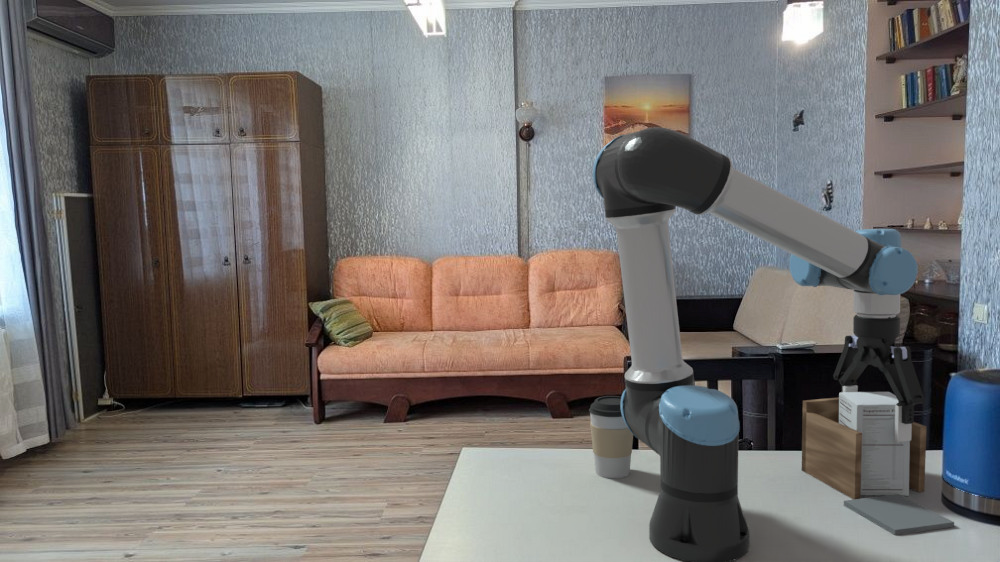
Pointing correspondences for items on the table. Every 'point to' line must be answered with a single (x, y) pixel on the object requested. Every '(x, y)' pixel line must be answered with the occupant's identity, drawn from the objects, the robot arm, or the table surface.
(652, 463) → the table surface
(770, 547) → the table surface
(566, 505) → the table surface
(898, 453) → the supplement box
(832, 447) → the walnut bay
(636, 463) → the table surface
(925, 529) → the rubber mat
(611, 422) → the coffee cup
